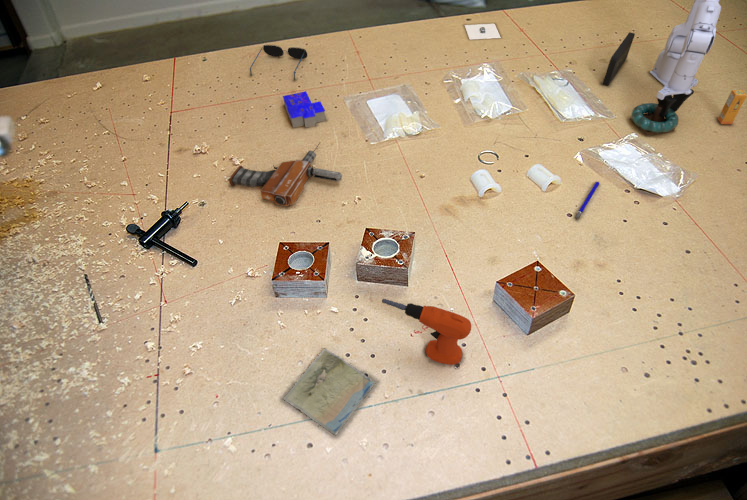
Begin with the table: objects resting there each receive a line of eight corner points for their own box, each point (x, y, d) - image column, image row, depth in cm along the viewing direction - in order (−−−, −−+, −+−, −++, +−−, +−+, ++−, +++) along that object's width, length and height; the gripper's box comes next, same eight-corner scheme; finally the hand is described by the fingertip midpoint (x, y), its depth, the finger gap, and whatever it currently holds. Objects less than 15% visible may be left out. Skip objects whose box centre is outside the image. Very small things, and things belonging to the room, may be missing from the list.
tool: (221, 184, 144) (320, 203, 135) (267, 128, 160) (358, 142, 152) (226, 195, 146) (323, 215, 138) (270, 139, 163) (360, 154, 155)
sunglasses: (308, 59, 194) (306, 47, 190) (296, 85, 186) (293, 73, 182) (265, 55, 197) (262, 43, 193) (251, 80, 189) (247, 68, 185)
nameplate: (607, 86, 176) (616, 59, 168) (601, 85, 176) (611, 57, 169) (626, 59, 187) (635, 32, 179) (620, 58, 188) (630, 31, 180)
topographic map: (282, 399, 104) (281, 395, 103) (324, 348, 111) (324, 345, 110) (335, 437, 99) (335, 434, 98) (376, 382, 106) (376, 378, 105)
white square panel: (494, 23, 208) (495, 19, 207) (500, 37, 200) (501, 34, 199) (464, 25, 208) (464, 21, 207) (469, 39, 200) (470, 35, 199)
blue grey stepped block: (293, 130, 164) (291, 116, 160) (283, 105, 174) (281, 91, 170) (327, 123, 167) (326, 108, 163) (315, 99, 176) (313, 84, 172)
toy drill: (380, 322, 114) (387, 282, 102) (463, 350, 111) (480, 313, 100) (372, 340, 111) (379, 301, 99) (458, 370, 108) (475, 333, 97)
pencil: (577, 219, 135) (578, 217, 134) (574, 218, 135) (575, 215, 134) (599, 183, 144) (600, 180, 143) (596, 181, 144) (597, 179, 143)
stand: (630, 119, 163) (637, 100, 158) (656, 114, 164) (664, 95, 159) (646, 135, 157) (654, 116, 152) (673, 131, 158) (682, 112, 153)
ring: (623, 111, 164) (626, 102, 162) (664, 108, 164) (667, 99, 162) (641, 135, 155) (644, 127, 153) (683, 132, 156) (688, 124, 153)
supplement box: (727, 118, 162) (743, 89, 154) (731, 124, 159) (748, 95, 152) (716, 118, 162) (732, 89, 155) (720, 124, 160) (736, 95, 152)
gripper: (678, 85, 145) (660, 126, 156) (714, 71, 150) (694, 111, 160) (658, 74, 150) (641, 114, 160) (693, 60, 154) (675, 100, 164)
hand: (666, 112), depth 160 cm, fingers open, 5 cm apart
